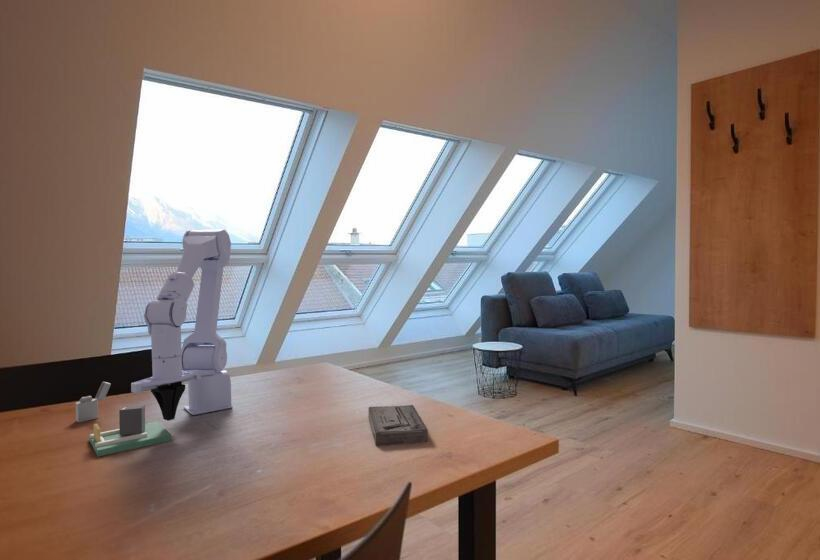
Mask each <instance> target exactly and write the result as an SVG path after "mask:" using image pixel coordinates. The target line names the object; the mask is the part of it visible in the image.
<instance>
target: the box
mask: <svg viewBox="0 0 820 560" xmlns="http://www.w3.org/2000/svg"><path fill="white" fill-rule="evenodd" d="M367 413H368V414H367V415H368V422H369V426H370V431H371V434H372V438H373V440H374V445H375V446H376V447H379V446H390V445H400V444H401V445H403V444H404V445H406V444H415V443H427V442H428V433H429V432H428V430H429V429H428V428H427V427H426V425H425V423H424V421H423V420H422V417H421V416H420V415H419V413H418V411H417V409H416V408H415V406H414V405H413V404H408V405H391V406H388V405H387V406H386V405H383V406H369V407H368V412H367Z"/></svg>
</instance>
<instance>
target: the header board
mask: <svg viewBox="0 0 820 560" xmlns="http://www.w3.org/2000/svg"><path fill="white" fill-rule="evenodd" d="M88 439H89V440H88V441H89V442H90V444H91V446H92V448H93V450H94V452H95V454H96V456H97V457H102V456H106V455H111V454H116V453H120V452H124V451H129V450H133V449H139V448H143V447H148V446H152V445H155V444H156V445H157V444H161V443H165V442H170V441H172V439H173V438H172V434H171V433H170V431H169V430H167V428H165V427H164V426H163V424H162V423H161V422H160V421H158V420H157V421H153V422H148V423H146V422H145V431H144V432H143V433H140V434H131V435H122V436H120V428H115V429H112V430H106V431H101V427H99V425H98V423H94V424H93V433H89V436H88Z"/></svg>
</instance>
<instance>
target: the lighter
mask: <svg viewBox="0 0 820 560" xmlns="http://www.w3.org/2000/svg"><path fill="white" fill-rule="evenodd" d="M110 387H111V383H110V382H107V381H102V382H101V384H100V386H99V388H98V390H97V393H96V395H95V398H93V397H92V395H87V396H82V397H81V398H80V399H79V401H76V402H75V403H74V404H75V422H77V423H83V422H86V421H90V420H94V419H99V405H98V404H99V401H102V402H103V401H104V400H105V399H106V396H107V395H108V392H109V390H110Z"/></svg>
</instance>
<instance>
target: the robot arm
mask: <svg viewBox="0 0 820 560" xmlns="http://www.w3.org/2000/svg"><path fill="white" fill-rule="evenodd" d="M182 237H183V238H182V249H183V253H182V256H181V258H180V261H179V264H178V266H177V270H176V271H175V272H172V273H170V274H169V275H168V276H167V278H166V280H165V282H164V284H163V285H162V288H161V289H160V291H159V294H158V295H157V297H156V299H153V300H151V301H150V302H148V303H147V305H146V306H145V311H144V314H143V318H144V322H145V324H146V325H147V333H148V335H149V336H150V339H151V340H150V341H151V362H152V363H151V364H152V365H151V367H152V369H151V370H152V371H151V372H152V376H150V377H147V378H144V379H141V380H138V381H134V382H131V384H130V387H131V388H130V391H131V393H132V394H140V393H142V392H146V391H150V392H151V394H152V395H153V397H154V398H155V400H156V402H157V404H158V406H159V408H160V412H161V415H162V418H163V420H165V421H168V422H170V421H172V420H175V418H176V413H177V409H178V406H179V403H180V400H181V398H182V396H183V394H184V392H185V390H186V385H185V384H184V383H187V387H188V388H187V389H188V391H187V393H188V395H187V396H188V405H187V404H186V405H183V409H184V410H186V411H187V412H188V413H189V414H190V415H192V416H196V415H201V414H206V413H211V412H212V413H213V412H217V411H222V410H227V409H232V408H233V404H232V383H231V381H232V380H231V376H230V373H229V371H227V370H226V369H225V367H226V365H227V361H228V353H227V341H226V340H225V339H224V338H223V337H221V336H220V335H219V334H218V333H217V328H218V327H217V326H218V319H219V310H220V300H221V294H222V293H221V291H222V282H223V281H222V280H223V273H224V268H225V267H227V266H228V265H229V264H230V263H229V262H230V257H231V250H232V249H231V248H232V242H231V238H230V235H229V233H228V231H227V230H226V229H222V228H221V229H201V230H197V229H196V230H195V229H194V230H193V229H187V230H186V232H185V233H184V234H183V236H182ZM199 268H200V270H201V275H200V276H201V277H200V284H199V292H198V300H197V307H196V316H195V323H194V324H195V325H194V332H192V333H191V334H189V335H188V336H186V338H184V340H183V343H182V325H183V324H184V323H185V321H186V317H187V309H188V303H187V302H188V300H189V297H190V296H191V294H192V291H193V289H194V287H195V282H194V279H193V277H194V276H195V275H196V273H197V272H198V270H199Z"/></svg>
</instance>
